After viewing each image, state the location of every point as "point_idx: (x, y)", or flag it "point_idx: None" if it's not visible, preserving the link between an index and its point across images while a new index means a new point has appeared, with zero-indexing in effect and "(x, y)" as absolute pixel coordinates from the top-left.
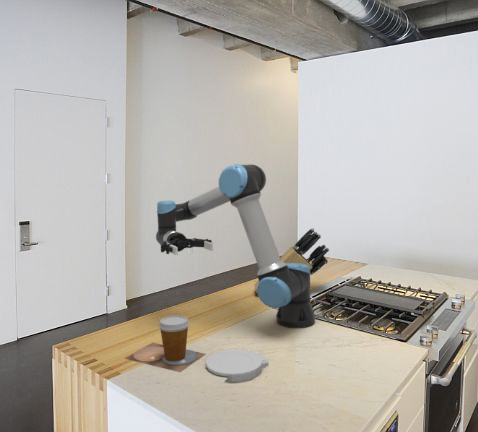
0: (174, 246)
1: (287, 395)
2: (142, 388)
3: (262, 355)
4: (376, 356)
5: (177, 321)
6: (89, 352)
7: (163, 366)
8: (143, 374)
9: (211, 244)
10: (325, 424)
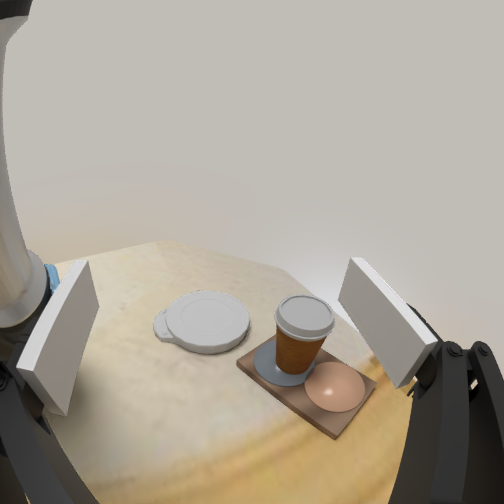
0: (378, 282)
1: (183, 271)
2: None
3: (154, 326)
4: None
5: (299, 310)
6: None
7: None
8: (337, 350)
9: (85, 267)
10: (184, 245)
